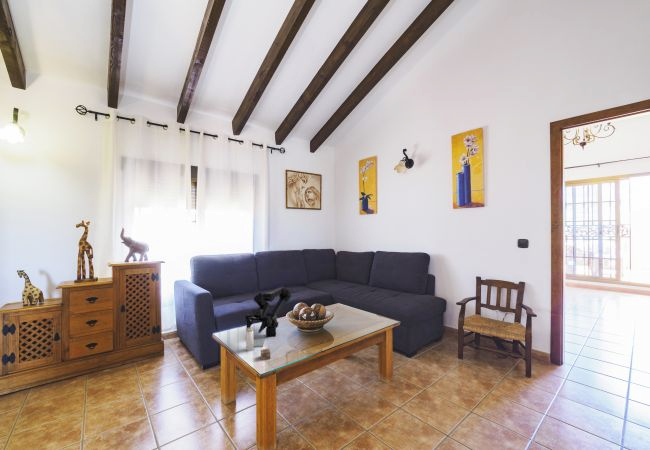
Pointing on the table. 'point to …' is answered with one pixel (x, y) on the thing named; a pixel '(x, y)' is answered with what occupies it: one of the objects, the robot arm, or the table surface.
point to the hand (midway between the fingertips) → (252, 332)
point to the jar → (250, 339)
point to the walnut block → (265, 354)
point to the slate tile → (259, 343)
